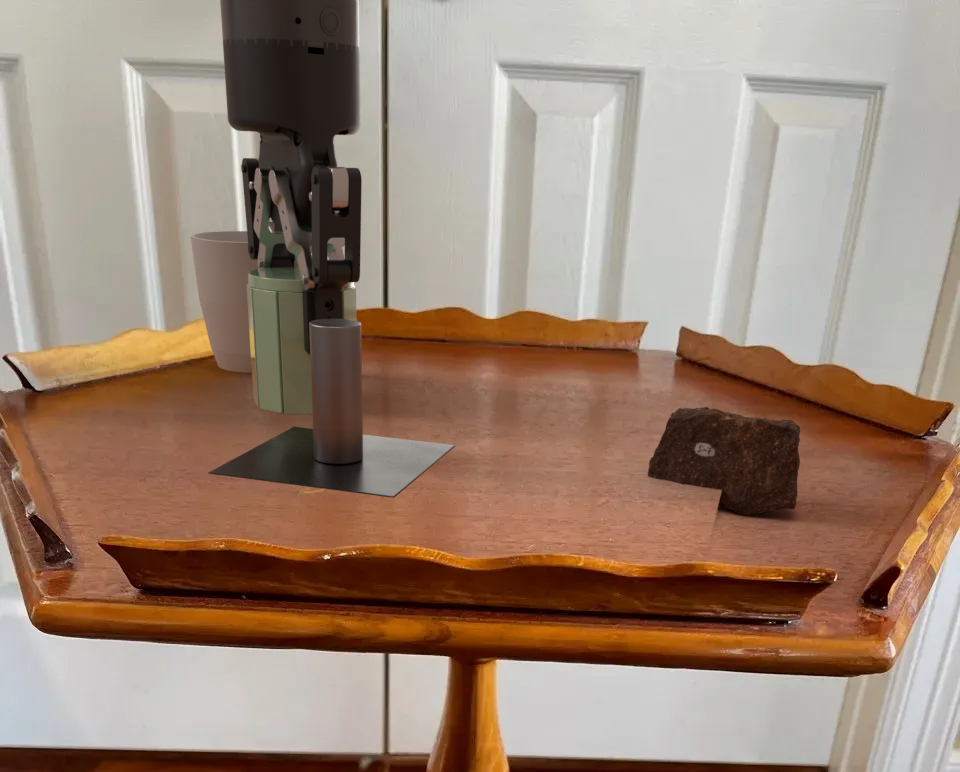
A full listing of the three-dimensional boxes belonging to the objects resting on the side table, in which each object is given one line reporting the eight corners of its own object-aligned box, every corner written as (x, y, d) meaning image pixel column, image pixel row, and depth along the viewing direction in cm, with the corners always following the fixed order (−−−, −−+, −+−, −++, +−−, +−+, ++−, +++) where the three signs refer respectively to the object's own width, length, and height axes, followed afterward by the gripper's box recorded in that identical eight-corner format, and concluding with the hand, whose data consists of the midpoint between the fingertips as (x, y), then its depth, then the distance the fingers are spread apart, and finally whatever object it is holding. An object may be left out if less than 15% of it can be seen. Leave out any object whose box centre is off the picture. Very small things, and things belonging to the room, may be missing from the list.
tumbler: (237, 426, 64) (226, 275, 60) (284, 403, 70) (277, 264, 66) (331, 437, 63) (327, 283, 59) (371, 413, 68) (370, 271, 65)
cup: (299, 367, 81) (293, 231, 76) (326, 389, 74) (321, 242, 70) (194, 371, 78) (182, 230, 73) (212, 395, 71) (200, 242, 67)
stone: (642, 499, 54) (652, 404, 52) (657, 484, 57) (668, 393, 54) (790, 524, 51) (808, 425, 49) (799, 507, 54) (817, 412, 52)
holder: (208, 495, 52) (195, 329, 48) (294, 446, 61) (288, 302, 57) (393, 520, 50) (393, 347, 46) (455, 465, 58) (459, 316, 55)
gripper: (190, 40, 61) (212, 329, 68) (267, 24, 50) (284, 371, 57) (310, 49, 64) (319, 324, 72) (408, 36, 53) (406, 363, 60)
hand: (303, 344), depth 64 cm, fingers closed on tumbler, 6 cm apart
